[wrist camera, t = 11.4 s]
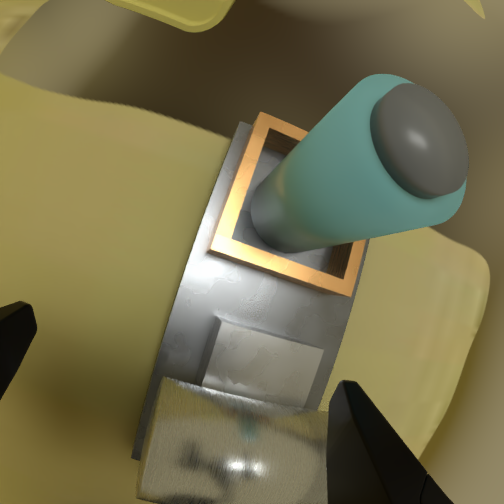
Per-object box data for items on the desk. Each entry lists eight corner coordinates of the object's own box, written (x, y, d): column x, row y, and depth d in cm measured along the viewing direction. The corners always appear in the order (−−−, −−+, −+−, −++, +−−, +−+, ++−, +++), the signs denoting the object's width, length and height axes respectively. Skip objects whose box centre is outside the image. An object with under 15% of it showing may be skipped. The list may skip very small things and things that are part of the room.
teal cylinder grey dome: (316, 264, 20) (477, 247, 8) (239, 236, 19) (344, 170, 7) (336, 190, 21) (480, 117, 9) (265, 159, 20) (370, 36, 8)
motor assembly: (278, 474, 20) (324, 543, 12) (132, 447, 18) (120, 526, 10) (369, 190, 23) (447, 157, 15) (235, 130, 21) (272, 57, 13)
